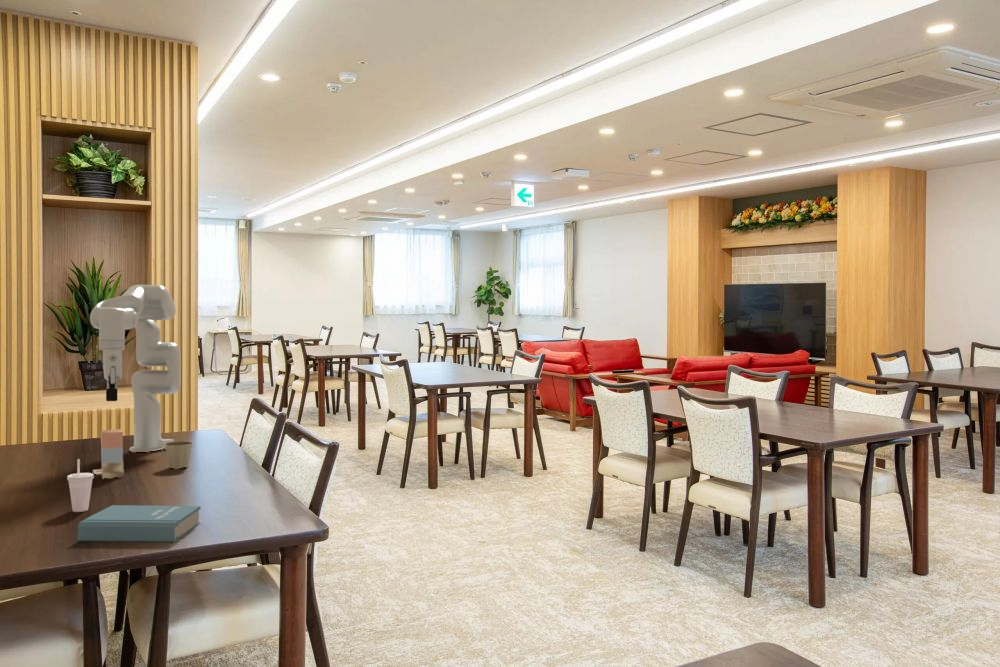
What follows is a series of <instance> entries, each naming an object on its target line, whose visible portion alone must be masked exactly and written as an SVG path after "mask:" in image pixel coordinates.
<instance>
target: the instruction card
mask: <svg viewBox="0 0 1000 667" xmlns="http://www.w3.org/2000/svg"><path fill="white" fill-rule="evenodd" d="M92 473H94V474H96V475H102V468H99V469H92ZM123 473H125V470H124V469H123Z"/></svg>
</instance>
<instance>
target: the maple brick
mask: <svg viewBox="0 0 1000 667" xmlns="http://www.w3.org/2000/svg"><path fill="white" fill-rule="evenodd" d="M101 469H102V474H101V477H102V480H105V479H104V478H107V479H114V477H118V478H123V477H124V472H123V470H124V461H123V462H118V463H105V464H102V463H101ZM122 476H123V477H122Z"/></svg>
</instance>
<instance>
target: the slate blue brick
mask: <svg viewBox="0 0 1000 667" xmlns="http://www.w3.org/2000/svg"><path fill="white" fill-rule="evenodd" d="M100 450H101V451H100V453H101V454H100V455H101V456H100V458H101V459H100V460H101V465H102V464H105V463H118V462H123V463H124V447H115V448H102V447H101V448H100Z"/></svg>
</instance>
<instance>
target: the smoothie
mask: <svg viewBox="0 0 1000 667" xmlns="http://www.w3.org/2000/svg"><path fill="white" fill-rule="evenodd" d="M80 466H81V461H80V458H78V459H77V470H76V471H77V472H76V473H71V474H68V475H67V476H66V477H67V478H66V480H67V481H68V486H69V487H68V488H69V494H70V501H71V509H72V512H73V513H82V512H86V511H88V510H89V505H90V500H91V492H92V485H93V479H94V478H95V475H94V474H93V472H92V473H91V472H81V470H80V469H81V467H80Z"/></svg>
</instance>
